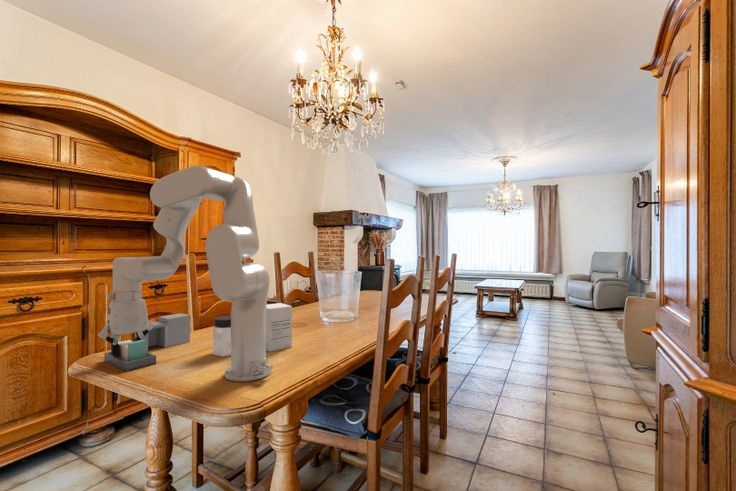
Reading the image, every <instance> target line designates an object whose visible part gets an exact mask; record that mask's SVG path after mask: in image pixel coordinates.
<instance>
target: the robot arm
mask: <svg viewBox="0 0 736 491" xmlns="http://www.w3.org/2000/svg"><path fill="white" fill-rule="evenodd" d="M252 193H253V192H252V190H251V187H250V185H249V184H248V182H247V181H245V180H244V179H243V178H241V177H239V176H235V175H233V174H230V173H226V172H224V171H220V170H216V169H213V168H211V167H206V166H203V165H192V166H191V165H190V166H188V167H185V168H181V169H180V170H177V171H175V172H173V173H169V174H167V175H165V176H162V177H161V178H159V179H158V180H156V181H155V182H154V183H153V185H152V186H151V187H150V192H149V197H150V198H149V199H150V200H151V202H152V205H155V206H156V207H158V208H160V210H159V212H158V214H157V216H156V218H155V220H154V221H153V224H152V226H153V229H154V230H155V231H156V232H157V233H158V234H160V235H161V236H163V237H164V238H165V239H166V244H165V246H164V249H163V251H162V253H161V255H159V256H157V255H156V256H154V255H153V256H138V257H137V256H134V257H133V256H125V257H123V256H120V257H116V258H114V259H113V260H112V291H111V293H110V294H107V295H106V298H107V300H111V301H110V302H109V304H108V305H109V306H108V311H107V314H106V315H107V317H106V325H104V327H103V328H102V329H101V331H100V332H99V333H98V334H97V336H98V337H100V338H101V339H103V340H104V341H106V342H108V343H109V344H110V345H111V347H110V349H111V350H110V352H111V354H112V355H113V356H115V357H119V356H120V345H119V344H118V342H119V341H120V340H119V339H120V337H121V336H123V335H124V336H125V335H128V334H133V333H134V334H135V338H134V341H139V340H142V339H144V336H145V335H146V334H147V333H148V332H149V331H150V330H151V329H152V328H153V327H154V325H153V324H151V323H150V321H149V317H148V316H149V315H148V309H147V303H146V299H144V298H143V294H142V293H143V292H142V291H143V290H142V289H143V282H151V281H158V280H159V281H160V280H166V279H168V278H170V277H172V276H173V275H174V274H175V273H176V271H177V270H178V268H179V266H180V264H181V263H182V261H183V258H184V257H185V240H184V234H185V232H186V230H187V229H188V227H189V225H190V223H191V222H192V220H193V217H194V215H195V214H196V212H197V210H198V208H199V207H200V205H201V203H202V200H203V199H207V200H214V201H217V202H218V201H219V202H224V205H223V208H222V218H223V223H222V224H217V225H215V226H214V227H213V228H212V229H210V230H209V232H208V234H207V236H206V240H205V255H206V260H207V266H208V273H209V281H210V285H211V288H212V292H213V293H214V295H216V297H217V298H218V299H220V300H221V301H224V302H232V306H231V312H230V315H231V355H230V367H228V368H227V369H226V370H225V371H224V378H225V379H226V380H229V381H231V382H240V383H241V382H252V381H256V380H261V379H263V378H265V377H268V375H270V374H271V373H272V370H273V369H274V366H273V365H272V364H270V363H269V358H268V357H267V350H266V305H267V304H268V303H267V302H268V294H269V290H270V289H269V288H270V275H269V273H268V270H267V269H266V268H265V266H262V264H259V263H256V262H244V263H243V262H242V261H243V259H249V258H253V257H254V256H255V255H256V254H257V253H258V251H259V248H260V239H259V235H258V227H257V222H256V220H257V219H256V217H255V211H254V210H255V209H254V202H253V194H252ZM108 334H111V336H109V335H108Z"/></svg>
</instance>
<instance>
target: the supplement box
mask: <svg viewBox="0 0 736 491" xmlns="http://www.w3.org/2000/svg"><path fill="white" fill-rule="evenodd" d="M292 332H293V306H292V305H289V304H286V303H282V302H277V303H267V305H266V352H267V351H268V352H274V351H278V350H285V349H288V348H292V346H293V345H292V344H293V340H292V338H293V333H292Z"/></svg>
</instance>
